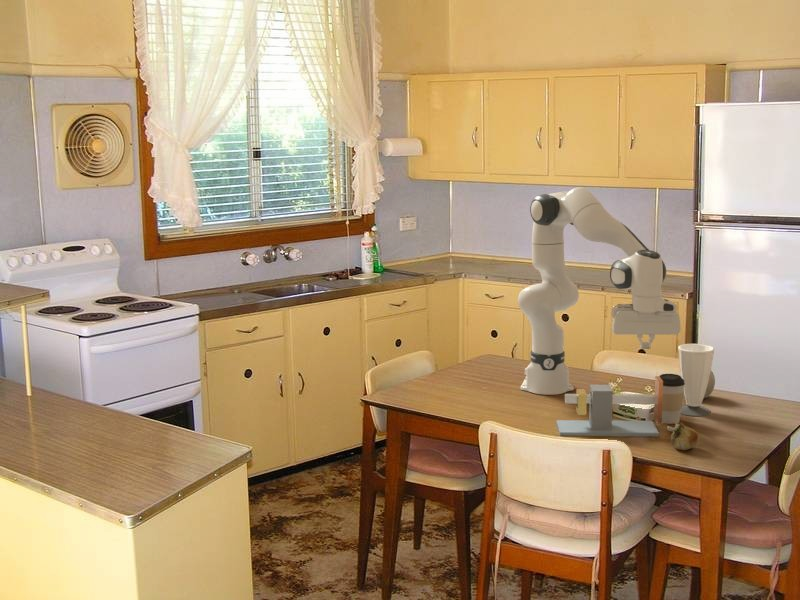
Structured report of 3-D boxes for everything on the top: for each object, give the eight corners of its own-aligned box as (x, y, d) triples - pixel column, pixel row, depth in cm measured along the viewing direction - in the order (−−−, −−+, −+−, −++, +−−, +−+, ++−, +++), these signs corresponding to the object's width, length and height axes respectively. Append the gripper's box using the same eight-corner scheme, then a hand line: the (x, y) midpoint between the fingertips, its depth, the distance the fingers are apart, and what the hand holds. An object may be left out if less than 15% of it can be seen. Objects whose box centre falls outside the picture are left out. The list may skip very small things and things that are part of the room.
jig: (556, 423, 312) (557, 382, 310) (651, 424, 310) (653, 382, 308) (559, 435, 301) (560, 393, 298) (659, 436, 299) (660, 393, 296)
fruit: (682, 401, 333) (683, 359, 331) (682, 392, 344) (684, 351, 341) (714, 404, 330) (716, 361, 328) (714, 394, 341) (716, 353, 338)
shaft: (563, 417, 309) (564, 375, 306) (657, 417, 307) (659, 376, 304) (565, 423, 303) (566, 381, 300) (661, 423, 301) (663, 381, 298)
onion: (686, 455, 282) (687, 429, 281) (664, 448, 289) (665, 422, 287) (702, 450, 287) (704, 423, 285) (680, 442, 293) (681, 417, 291)
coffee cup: (648, 420, 314) (650, 375, 311) (663, 414, 320) (665, 369, 317) (673, 426, 308) (675, 380, 305) (688, 420, 314) (690, 374, 311)
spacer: (576, 409, 308) (576, 389, 307) (584, 409, 308) (584, 389, 307) (578, 414, 302) (578, 394, 301) (586, 414, 302) (586, 394, 301)
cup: (687, 418, 316) (690, 353, 312) (668, 407, 327) (671, 345, 323) (718, 414, 319) (721, 350, 315) (698, 404, 330) (701, 342, 326)
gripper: (613, 306, 295) (612, 350, 297) (682, 305, 293) (680, 350, 296) (610, 302, 301) (609, 345, 304) (678, 301, 300) (676, 345, 302)
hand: (645, 348), depth 300 cm, fingers closed
